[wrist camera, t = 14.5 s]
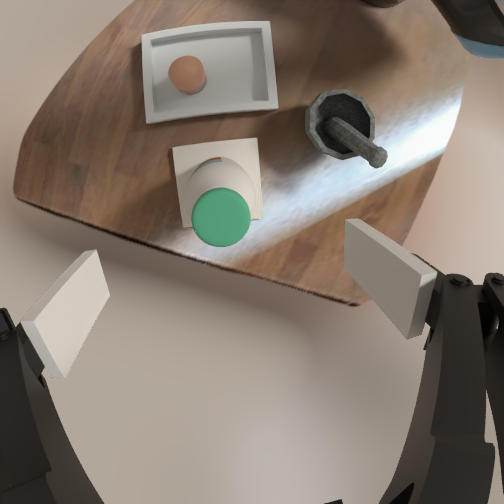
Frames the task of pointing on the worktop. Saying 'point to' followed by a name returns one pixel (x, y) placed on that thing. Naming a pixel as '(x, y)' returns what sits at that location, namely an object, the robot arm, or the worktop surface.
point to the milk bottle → (220, 201)
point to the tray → (210, 70)
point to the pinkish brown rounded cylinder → (187, 74)
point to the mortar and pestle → (343, 127)
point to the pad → (236, 150)
